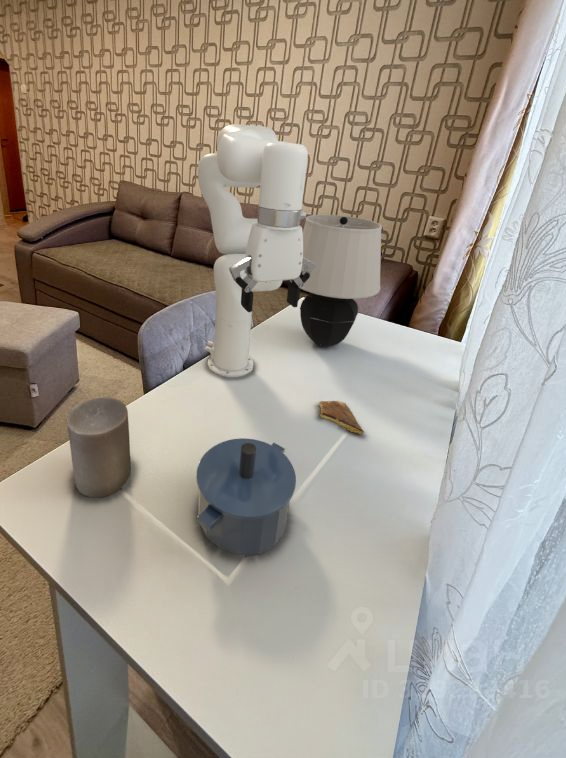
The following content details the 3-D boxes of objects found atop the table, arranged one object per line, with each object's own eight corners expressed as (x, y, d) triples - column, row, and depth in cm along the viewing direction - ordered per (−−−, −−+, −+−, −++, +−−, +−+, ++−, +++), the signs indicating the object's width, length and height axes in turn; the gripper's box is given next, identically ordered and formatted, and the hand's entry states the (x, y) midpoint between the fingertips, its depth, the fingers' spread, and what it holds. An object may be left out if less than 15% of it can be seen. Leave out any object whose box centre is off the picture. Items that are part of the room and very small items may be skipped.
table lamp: (316, 318, 143) (333, 206, 128) (383, 348, 125) (412, 222, 110) (263, 338, 126) (276, 211, 110) (332, 375, 108) (358, 230, 92)
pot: (167, 530, 62) (167, 490, 59) (244, 458, 77) (247, 423, 74) (240, 592, 54) (244, 550, 51) (309, 499, 69) (316, 462, 66)
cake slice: (362, 437, 86) (364, 430, 85) (329, 438, 84) (330, 432, 84) (344, 406, 95) (345, 399, 95) (313, 407, 94) (314, 401, 93)
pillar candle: (140, 462, 75) (138, 396, 69) (114, 504, 66) (108, 433, 60) (93, 451, 76) (87, 386, 70) (61, 491, 67) (51, 420, 62)
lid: (175, 482, 61) (175, 451, 59) (237, 431, 73) (239, 403, 70) (257, 544, 53) (261, 510, 50) (312, 474, 65) (318, 444, 62)
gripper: (309, 214, 76) (298, 296, 83) (225, 214, 69) (221, 303, 76) (331, 221, 70) (318, 310, 76) (241, 222, 63) (235, 319, 69)
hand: (269, 307), depth 76 cm, fingers open, 9 cm apart
